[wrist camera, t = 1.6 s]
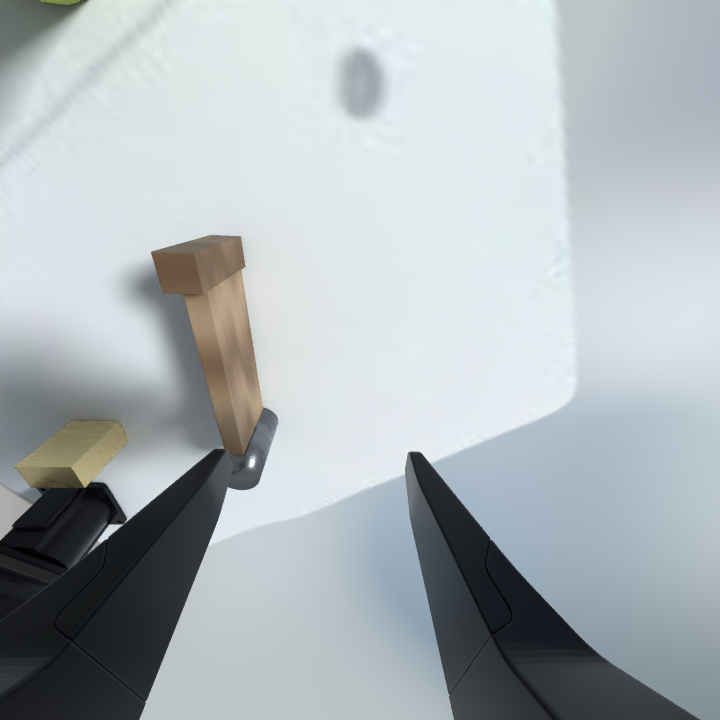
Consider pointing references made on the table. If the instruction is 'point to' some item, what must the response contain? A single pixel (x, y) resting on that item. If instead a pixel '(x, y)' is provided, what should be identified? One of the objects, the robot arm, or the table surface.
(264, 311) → the table surface
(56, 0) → the plant pot
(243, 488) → the grey metal cylinder
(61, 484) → the block
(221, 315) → the wooden t-bar
